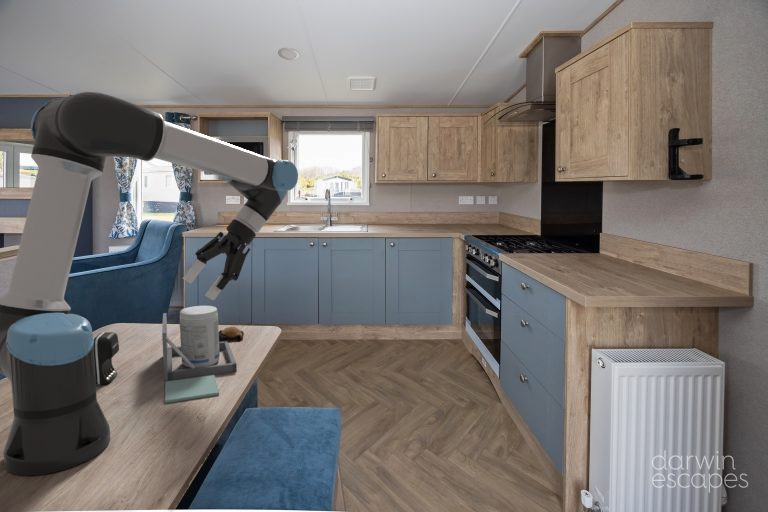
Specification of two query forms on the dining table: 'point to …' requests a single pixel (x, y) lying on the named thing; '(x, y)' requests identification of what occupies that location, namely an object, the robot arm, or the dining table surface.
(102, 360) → the battery charger
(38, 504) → the dining table surface
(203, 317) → the supplement tub
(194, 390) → the mat
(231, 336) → the bread roll
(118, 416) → the dining table surface
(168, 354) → the grey open frame
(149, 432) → the dining table surface
